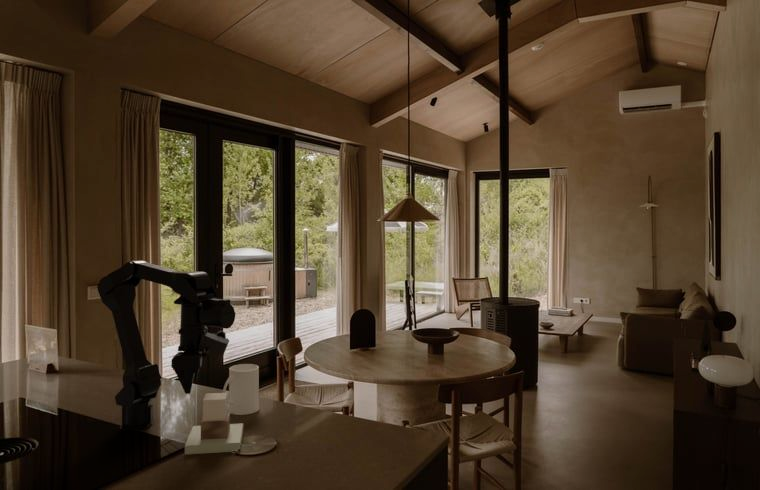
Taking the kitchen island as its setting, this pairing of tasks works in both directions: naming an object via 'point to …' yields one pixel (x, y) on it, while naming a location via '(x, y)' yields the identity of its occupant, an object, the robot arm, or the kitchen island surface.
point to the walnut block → (215, 428)
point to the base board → (214, 441)
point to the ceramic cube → (215, 407)
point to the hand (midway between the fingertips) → (190, 387)
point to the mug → (243, 389)
